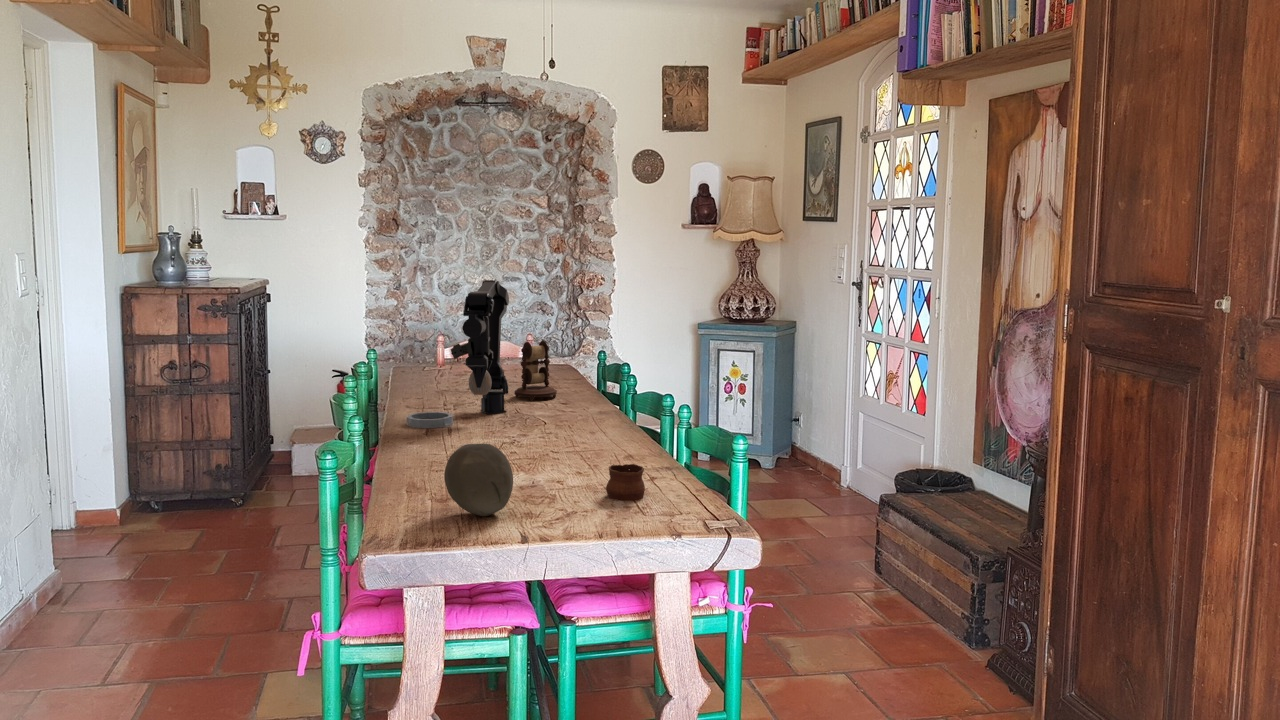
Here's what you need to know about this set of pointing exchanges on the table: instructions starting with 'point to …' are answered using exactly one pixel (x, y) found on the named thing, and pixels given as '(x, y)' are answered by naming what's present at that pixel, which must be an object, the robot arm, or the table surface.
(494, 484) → the dark brown round lump
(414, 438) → the table surface
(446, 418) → the ring dish
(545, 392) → the spool holder stand
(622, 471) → the ceramic pot
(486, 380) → the vase
